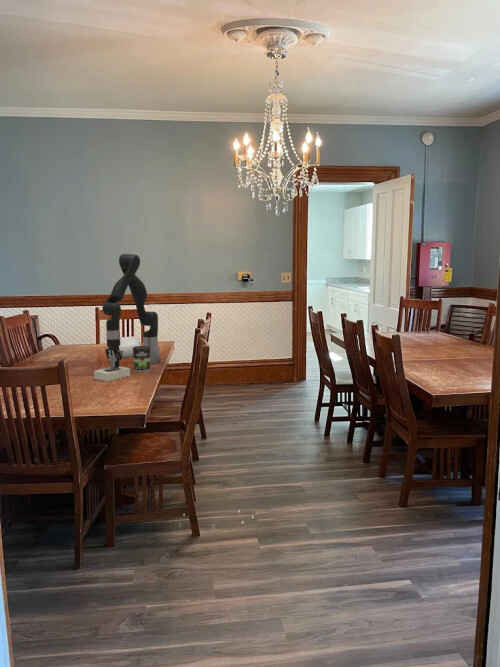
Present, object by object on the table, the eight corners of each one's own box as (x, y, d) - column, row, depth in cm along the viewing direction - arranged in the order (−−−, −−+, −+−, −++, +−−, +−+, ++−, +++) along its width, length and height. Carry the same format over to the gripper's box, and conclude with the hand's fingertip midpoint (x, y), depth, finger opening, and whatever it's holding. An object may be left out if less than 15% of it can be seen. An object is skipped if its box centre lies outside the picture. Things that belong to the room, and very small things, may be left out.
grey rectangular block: (114, 369, 298) (113, 353, 296) (118, 370, 295) (118, 354, 294) (105, 371, 293) (104, 355, 291) (109, 372, 290) (108, 356, 289)
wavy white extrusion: (142, 357, 349) (142, 342, 347) (117, 359, 343) (117, 344, 341) (135, 348, 381) (134, 334, 379) (112, 350, 375) (111, 335, 374)
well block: (117, 373, 305) (116, 365, 304) (130, 375, 297) (129, 368, 297) (94, 378, 292) (93, 370, 292) (107, 381, 285) (106, 373, 284)
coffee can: (151, 371, 308) (150, 348, 306) (134, 372, 306) (132, 349, 303) (150, 367, 318) (149, 345, 316) (133, 368, 315) (132, 346, 313)
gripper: (126, 338, 291) (127, 367, 294) (110, 335, 300) (112, 364, 303) (115, 339, 285) (117, 370, 288) (100, 337, 294) (101, 366, 297)
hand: (114, 366), depth 295 cm, fingers closed on grey rectangular block, 4 cm apart
